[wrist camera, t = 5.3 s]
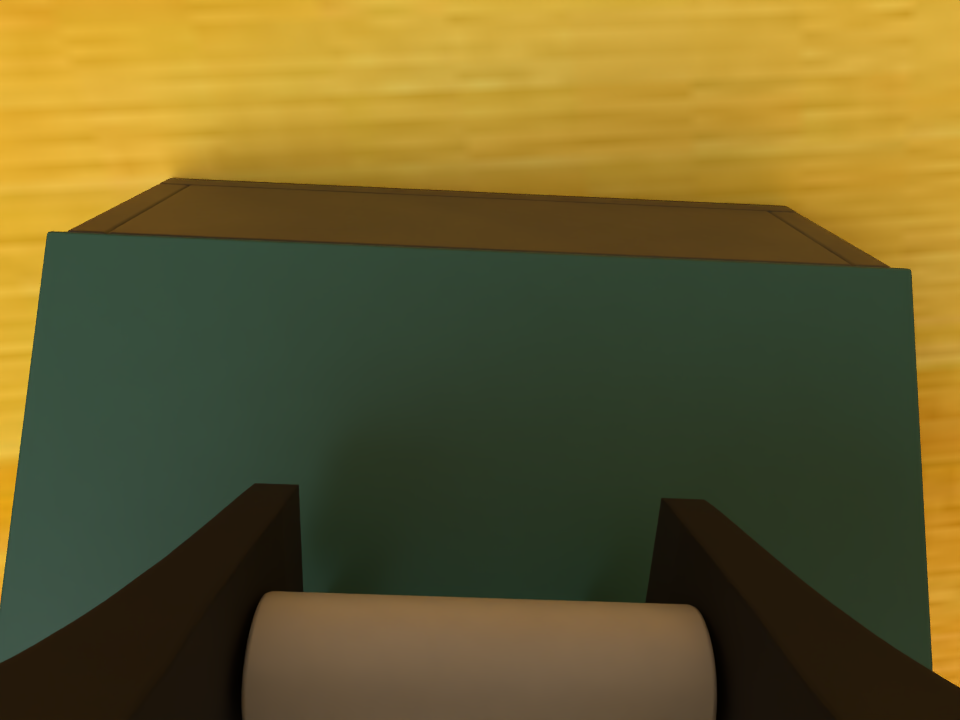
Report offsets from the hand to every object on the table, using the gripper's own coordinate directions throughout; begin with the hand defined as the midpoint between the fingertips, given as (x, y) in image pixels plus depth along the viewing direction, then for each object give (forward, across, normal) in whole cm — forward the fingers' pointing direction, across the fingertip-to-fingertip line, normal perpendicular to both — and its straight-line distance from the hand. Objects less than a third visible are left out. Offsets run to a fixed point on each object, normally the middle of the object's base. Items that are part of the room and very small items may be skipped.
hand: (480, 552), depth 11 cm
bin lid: (+2, 0, +1) cm, 2 cm away
